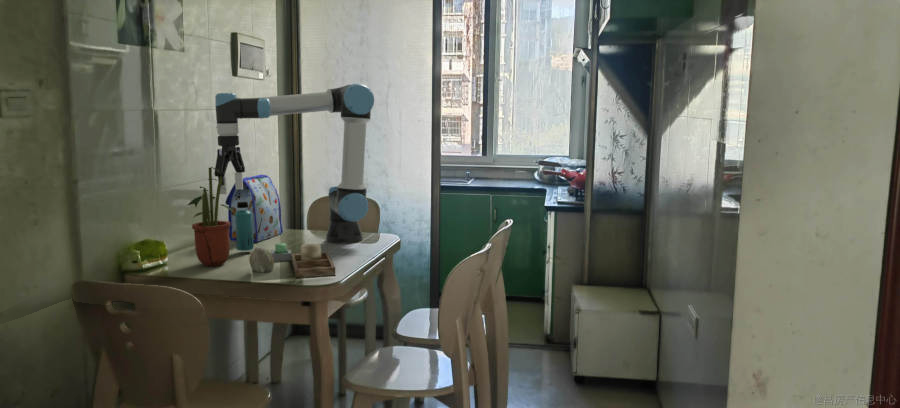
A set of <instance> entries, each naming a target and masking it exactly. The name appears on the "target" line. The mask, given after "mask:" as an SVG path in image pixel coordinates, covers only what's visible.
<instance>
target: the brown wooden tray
mask: <svg viewBox="0 0 900 408" xmlns="http://www.w3.org/2000/svg"><path fill="white" fill-rule="evenodd" d="M291 263H292V266H293V272H294V276H295V280H302V279H315V278H317V279H318V278H328V277H336V266H335V264H334V262H333V259H332V258H331V256H330V254H329V252H328V251H326V252H325V251H324V252H321V260H311V261H301V253H299V254H298V253H297V254H292V260H291Z"/></svg>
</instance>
